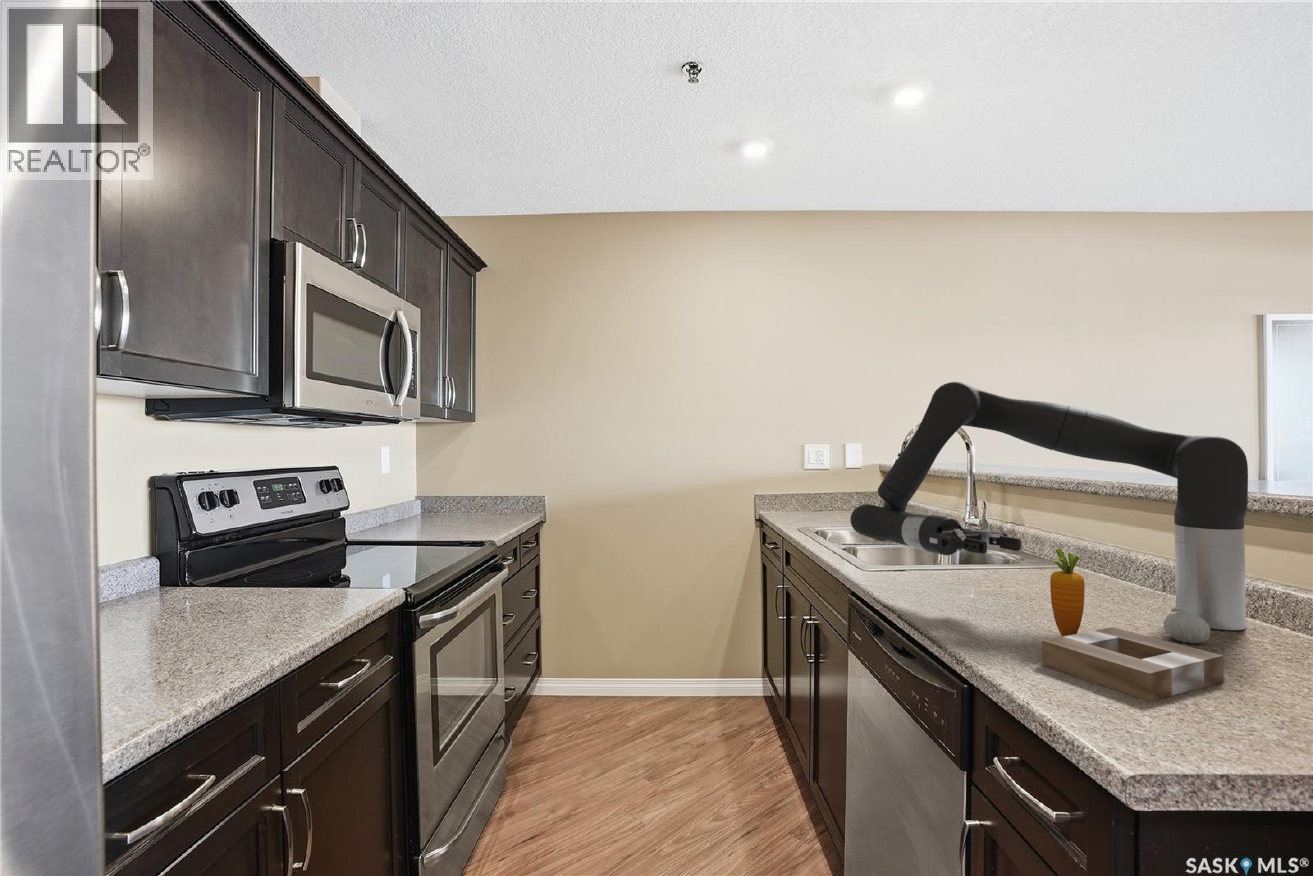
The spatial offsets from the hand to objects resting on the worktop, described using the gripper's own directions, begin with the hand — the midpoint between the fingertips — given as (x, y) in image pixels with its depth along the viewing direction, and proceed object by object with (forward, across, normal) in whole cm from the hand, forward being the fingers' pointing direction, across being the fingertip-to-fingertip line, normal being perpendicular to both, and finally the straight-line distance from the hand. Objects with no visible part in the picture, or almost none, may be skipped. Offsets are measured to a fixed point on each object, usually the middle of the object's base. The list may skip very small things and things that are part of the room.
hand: (1003, 546), depth 110 cm
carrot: (+12, 0, +14) cm, 18 cm away
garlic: (+18, +18, +14) cm, 29 cm away
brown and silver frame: (+24, -5, +14) cm, 28 cm away
